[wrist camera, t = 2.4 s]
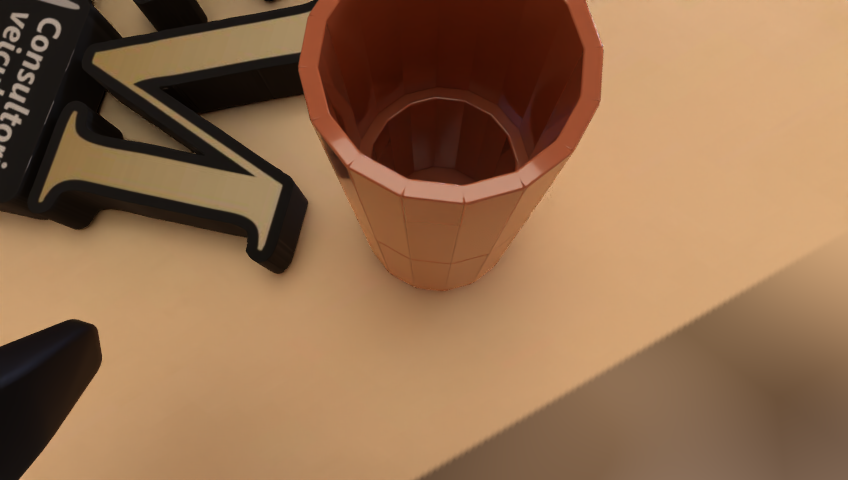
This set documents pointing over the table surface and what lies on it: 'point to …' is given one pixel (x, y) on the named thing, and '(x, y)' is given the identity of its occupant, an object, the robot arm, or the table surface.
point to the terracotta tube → (448, 120)
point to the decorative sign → (158, 103)
